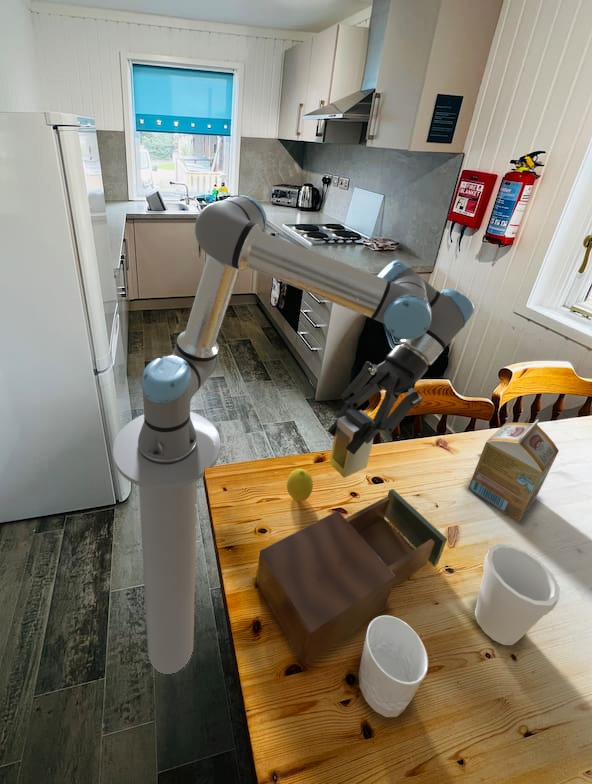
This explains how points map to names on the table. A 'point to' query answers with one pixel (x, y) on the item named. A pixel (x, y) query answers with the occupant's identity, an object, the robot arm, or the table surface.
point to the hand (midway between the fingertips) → (340, 442)
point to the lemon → (299, 484)
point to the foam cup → (513, 593)
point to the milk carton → (514, 467)
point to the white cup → (391, 665)
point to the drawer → (398, 535)
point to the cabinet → (323, 584)
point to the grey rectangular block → (343, 436)
